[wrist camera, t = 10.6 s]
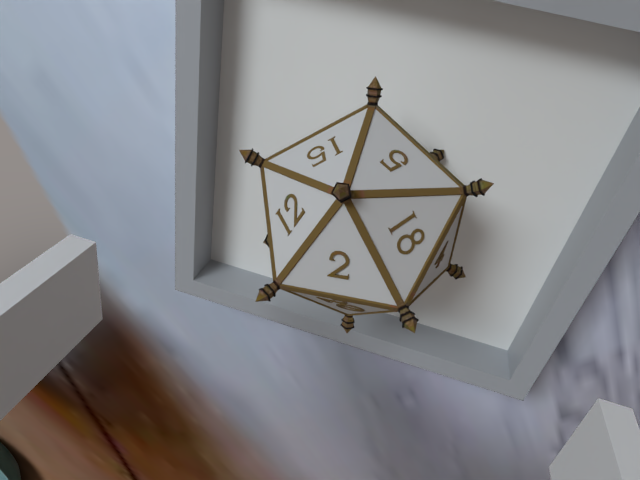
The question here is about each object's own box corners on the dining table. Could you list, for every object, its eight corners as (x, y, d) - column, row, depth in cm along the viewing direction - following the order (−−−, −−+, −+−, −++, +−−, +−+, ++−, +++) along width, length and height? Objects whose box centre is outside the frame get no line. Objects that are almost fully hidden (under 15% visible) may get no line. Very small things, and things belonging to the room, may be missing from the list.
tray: (518, 356, 26) (523, 400, 23) (201, 258, 28) (175, 289, 26) (716, 4, 16) (759, 16, 14) (215, -99, 19) (175, -104, 16)
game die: (429, 154, 24) (544, 327, 18) (278, 232, 25) (339, 419, 19) (382, -9, 17) (545, 184, 11) (175, 108, 18) (221, 343, 12)
